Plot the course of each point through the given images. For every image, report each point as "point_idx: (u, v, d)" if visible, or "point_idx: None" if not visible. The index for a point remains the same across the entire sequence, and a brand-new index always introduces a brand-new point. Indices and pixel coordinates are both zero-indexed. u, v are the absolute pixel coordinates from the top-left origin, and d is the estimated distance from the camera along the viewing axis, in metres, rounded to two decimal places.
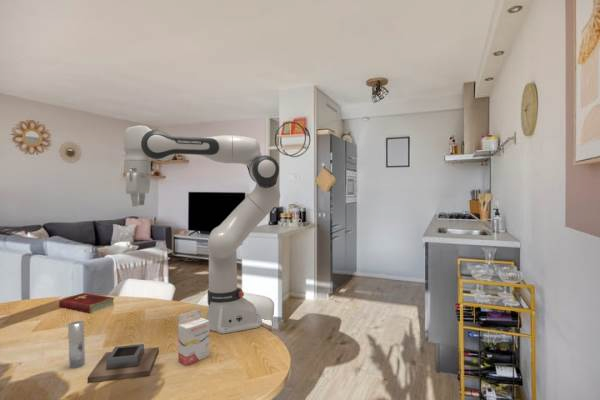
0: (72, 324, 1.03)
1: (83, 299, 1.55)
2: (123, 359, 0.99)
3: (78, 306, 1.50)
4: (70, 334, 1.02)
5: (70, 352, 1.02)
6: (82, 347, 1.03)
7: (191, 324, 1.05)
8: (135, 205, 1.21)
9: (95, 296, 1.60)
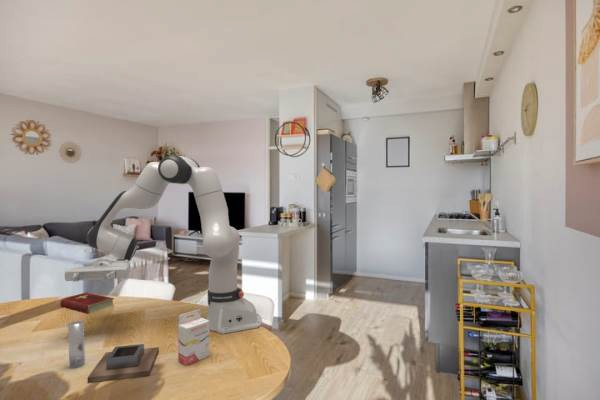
0: (72, 324, 1.03)
1: (83, 299, 1.56)
2: (123, 359, 0.99)
3: (78, 306, 1.50)
4: (70, 334, 1.02)
5: (70, 352, 1.02)
6: (82, 347, 1.03)
7: (191, 324, 1.05)
8: None
9: (95, 296, 1.60)
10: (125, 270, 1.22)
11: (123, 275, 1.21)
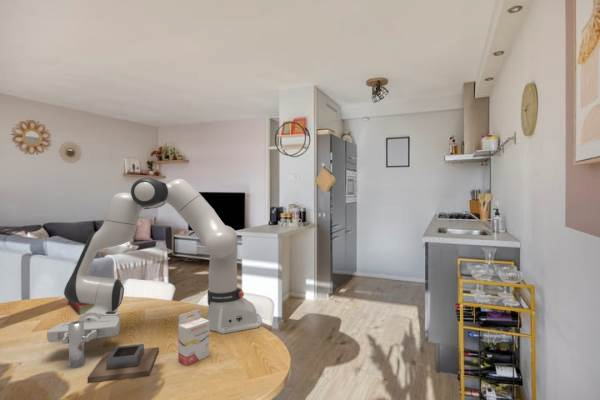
0: (72, 324, 1.03)
1: None
2: (123, 359, 0.99)
3: (74, 306, 1.50)
4: (70, 334, 1.02)
5: (70, 352, 1.02)
6: (82, 347, 1.03)
7: (191, 324, 1.05)
8: None
9: None
10: (115, 327, 1.10)
11: (112, 333, 1.09)
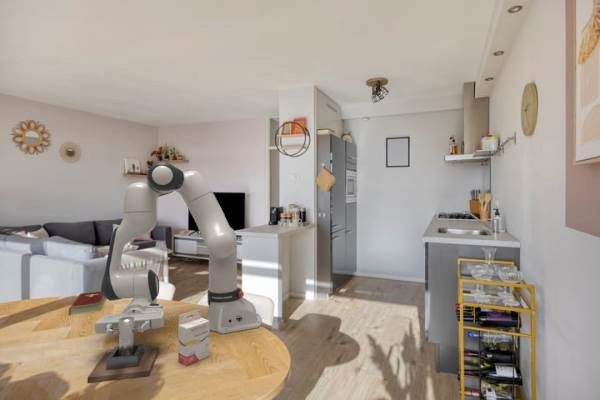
0: (123, 319, 1.02)
1: (86, 298, 1.57)
2: (123, 359, 0.99)
3: None
4: (121, 329, 1.01)
5: (121, 348, 1.01)
6: (132, 343, 1.03)
7: (191, 324, 1.05)
8: None
9: (100, 296, 1.59)
10: (161, 319, 1.09)
11: (159, 324, 1.08)
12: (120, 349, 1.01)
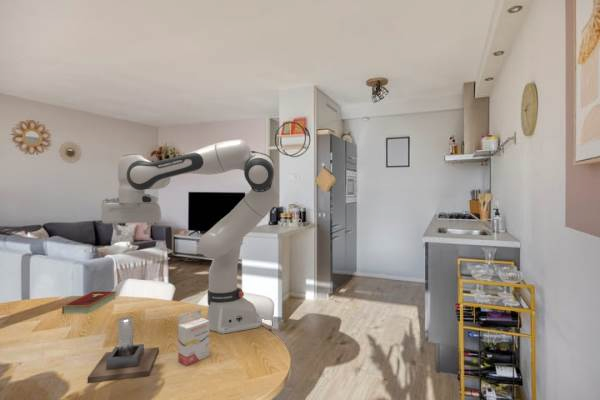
0: (122, 320, 1.02)
1: (89, 297, 1.58)
2: (123, 359, 0.99)
3: None
4: (120, 330, 1.01)
5: (120, 348, 1.01)
6: (131, 343, 1.03)
7: (191, 324, 1.05)
8: None
9: (100, 297, 1.58)
10: None
11: None
12: (120, 349, 1.01)
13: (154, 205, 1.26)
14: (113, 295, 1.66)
